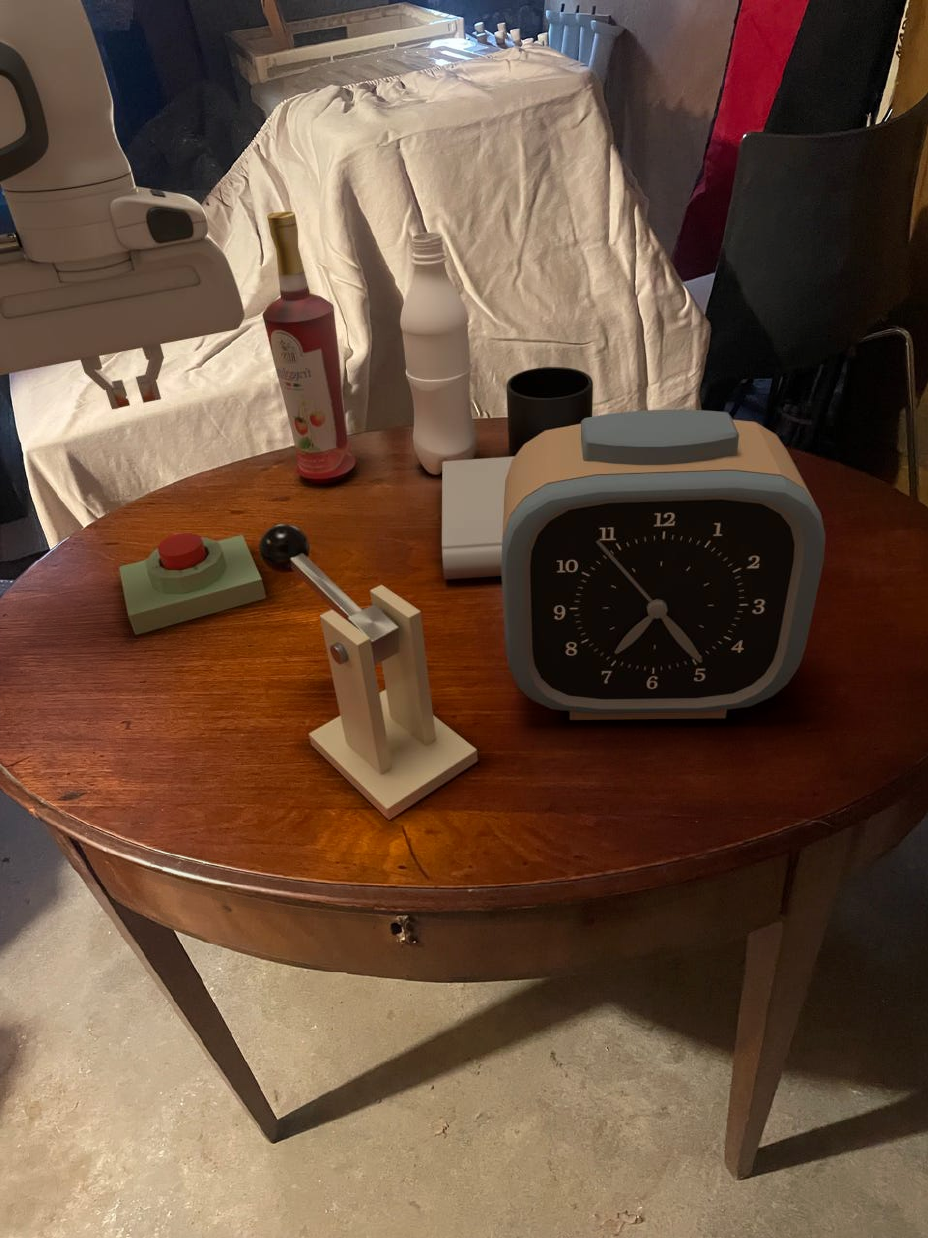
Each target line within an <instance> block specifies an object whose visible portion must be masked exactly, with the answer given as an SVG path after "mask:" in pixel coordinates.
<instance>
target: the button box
mask: <svg viewBox="0 0 928 1238" xmlns="http://www.w3.org/2000/svg"><path fill="white" fill-rule="evenodd" d="M200 537H201V536H200ZM201 538H202V541H203V544H204V548H205V551H206V559H205V561H203V562H201V563H200V564H198V565H196V566H195V567H192V568H188V569H184V570H167V569H165V568H164V567H163V564H162V561H161V558H160V555H159V552H158V548H156V549H154V550H153V551H151V553H150V554H149V556H148V557H147V558H146V559H144V560H140V561H135V562H132V563H128V564H125V565H120V566H119V567H118V570H119V575H120V580H121V585H122V591H123V596H124V601H125V606H126V611H127V615H128V616H127V617H128V619H129V622H130V625H131V627H132V630H133V632H134V635H135V636H138V635H141V634H145V633H149V632H151V631H155V630H159V629H162V628H166V627H169V626H173V625H177V624H181V623H183V622H186V621H191V620H194V619H198V618H202V617H205V616H208V615H212V614H215V613H219V612H223V611H226V610H230V609H233V608H236V607H240V606H244V605H247V604H250V603H255V602H259V601H261V600H266V599H267V595H266V591H265V587H264V583H263V579H262V576H261V574H260V572H259V570H258V568H257V565H256V563H255V560H254V558H253V556H252V553H251V551H250V549H249V547H248V545H247V542H246V540H245V538H244V535H243V534H240V535H235V536H233V537H229V538H225V539H220V540H214V539H211V538H209V537H206V536H202V537H201Z"/></svg>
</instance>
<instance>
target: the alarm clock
mask: <svg viewBox="0 0 928 1238" xmlns="http://www.w3.org/2000/svg"><path fill="white" fill-rule="evenodd" d="M826 537H827V536H826V532H825V527H824V522H823V518H822V513H821V511H820V509H819V508H818V506H817V504H816V502H815V500H814V498H813V496H812V495H811V492H810V490H809V489H808V487H807V484H806V483H805V481H804V479H803V477H802V475H801V474H800V472H799V470H798V468H797V466H796V464H795V463H794V461H793V459H792V456H791V455H790V453H789V450H788V449H787V448H786V447H785V445H784V444H783V442H782V441H781V439H780V438H779V436H778V435H777V434H776V433H774V432H773V431H771V430H770V429H768V428H766V427H764V426H763V425H761V424H760V423H758V422H756V421H751V420H749V421H748V420H741V419H740V420H739V419H733V417H732V416H731V415H730V414H729V412H727V411H716V410H706V409H705V410H704V409H649V410H648V409H647V410H645V409H644V410H633V411H632V410H631V411H624V412H623V411H622V412H614V413H606V414H600V415H595V416H592V417H588V418H584V419H583V420H582V421H581V424H577V425H572V426H566V427H561V428H556V429H551V430H545V431H544V432H542V433H541V434H539V435H538V436H536V437H535V438H533V439H532V440H530V441H529V442H527V443H525V444H524V445H523V447H522V448H521V449H520V450H519V452H518V453H517V454H516V456H515V457H514V458H513V460H512V462H511V465H510V468H509V471H508V474H507V477H506V480H505V492H504V512H503V535H502V558H501V574H502V576H501V590H502V605H503V606H502V609H503V611H502V612H503V629H504V645H505V646H504V647H505V655H506V662H507V666H508V670H509V671H510V674H511V676H512V678H513V680H514V682H515V684H516V686H517V689H519V690H520V691H521V692H522V693H523V694H524V695H526V697H527V698H528V699H529V700H531V701H533V702H535V703H538V704H540V705H541V706H544V707H546V708H548V709H550V710H555V711H565V712H569V721H585V720H586V721H591V720H592V721H593V720H595V721H599V720H678V719H679V720H680V719H681V720H682V719H683V720H687V719H688V720H691V719H695V720H696V719H697V720H698V719H727V711H729V710H734V709H735V710H736V709H741V708H742V709H743V708H749V707H752V706H755V705H756V704H759V703H761V702H763V701H765V700H767V699H770V698H773V697H774V696H775V695H776V694H777V693H779V692H780V691H781V690H782V689H783V688H784V687H786V686H787V685H788V684H789V683H790V681H791V679H792V678H793V677H794V676H795V674H796V672H797V670H798V669H799V667H800V665H801V662H802V660H803V656H804V653H805V651H806V647H807V643H808V637H809V633H810V628H811V623H812V618H813V613H814V610H815V604H816V599H817V594H818V590H819V586H820V580H821V576H822V571H823V565H824V561H825V551H826V549H825V548H826V539H827V538H826Z"/></svg>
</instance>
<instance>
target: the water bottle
mask: <svg viewBox="0 0 928 1238" xmlns="http://www.w3.org/2000/svg"><path fill="white" fill-rule="evenodd" d="M411 242H412V243H411V245H412V251H413V252H412V253H411V256H412V257H413V258H411V261H410V262H411V264H412V265H413V276H412V280H411V282H410V286H409V288H408V291H407V293H406V296H405V298H404V301H403V305H402V308H401V312H400V317H399V318H400V319H399V323H400V324H399V325H400V329H401V333H402V343H403V349H404V350H403V351H404V361H405V367H406V369H405V377H406V379H407V382H408V384H409V387H410V393H411V397H412V405H413V430H412V431H413V432H412V443H413V449H414V452H415V455H416V456H417V459H418V460H419V462H420V464H421V465H422V467H423V468H424V470H426V472H427V473H429V474H431V475H434V476H439V475H441V473H442V463H443V461H457V460H471V459H475V458H474V457H475V455H476V452H477V448H478V447H477V446H478V444H477V443H478V439H477V437H478V436H477V429H476V426H475V423H474V422H475V421H474V418H473V415H472V414H473V413H472V407H471V396H470V395H471V394H470V393H471V392H470V391H471V390H470V389H471V388H470V387H471V386H470V385H471V374H472V373H471V372H472V366H473V365H472V363H471V351H470V337H469V334H470V333H469V322H470V320H469V319H470V318H469V314H468V309H467V307H466V305H465V302H464V301H463V299H462V297H461V295H460V293H459V291H458V290H457V288H456V287H455V285H454V284H453V282H452V280H451V278H450V277H449V273H448V271H447V267H446V261H447V255H445V253H446V251H445V250H444V243H443V236H442V233H439V232H421V233H418V234H414V235H413V236H412V237H411Z"/></svg>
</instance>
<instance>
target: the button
mask: <svg viewBox="0 0 928 1238" xmlns="http://www.w3.org/2000/svg"><path fill="white" fill-rule="evenodd" d="M157 549H158V552H159V555H160V558H161V561H162V564H163V567H164V568H165V569H167V570H184V569H188V568H192V567H195V566H196V565H198V564H200V563H201V562H203V561H205V559H206V551H205V548H204V544H203V541H202V538H201V536H200V535H199V534H197V533H194V532H182V533H177V534H174V535H171V536H168V537H167V538H165V539H163V540H162V541H161V542H160V543H159V545H158V547H157Z"/></svg>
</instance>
